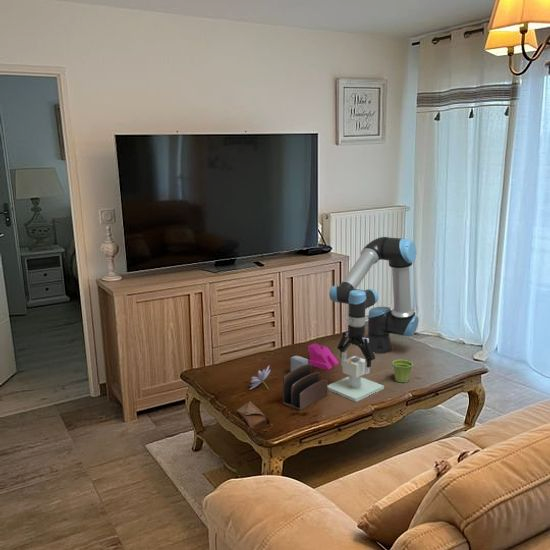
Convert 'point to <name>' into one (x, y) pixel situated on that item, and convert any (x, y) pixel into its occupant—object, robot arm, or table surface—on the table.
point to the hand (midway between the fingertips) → (355, 369)
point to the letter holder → (303, 387)
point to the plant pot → (402, 370)
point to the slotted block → (354, 367)
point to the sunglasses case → (252, 415)
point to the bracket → (321, 357)
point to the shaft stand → (354, 386)
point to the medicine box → (298, 362)
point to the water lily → (260, 378)
